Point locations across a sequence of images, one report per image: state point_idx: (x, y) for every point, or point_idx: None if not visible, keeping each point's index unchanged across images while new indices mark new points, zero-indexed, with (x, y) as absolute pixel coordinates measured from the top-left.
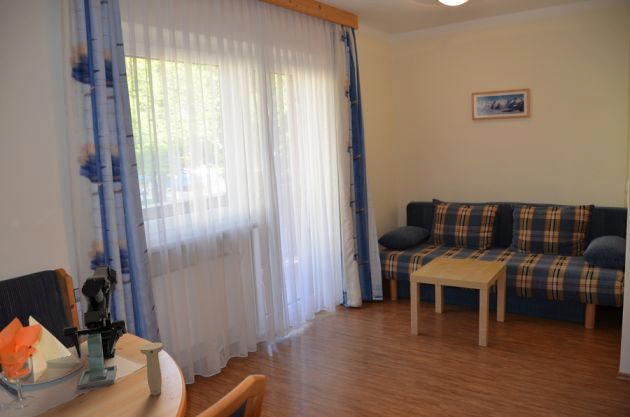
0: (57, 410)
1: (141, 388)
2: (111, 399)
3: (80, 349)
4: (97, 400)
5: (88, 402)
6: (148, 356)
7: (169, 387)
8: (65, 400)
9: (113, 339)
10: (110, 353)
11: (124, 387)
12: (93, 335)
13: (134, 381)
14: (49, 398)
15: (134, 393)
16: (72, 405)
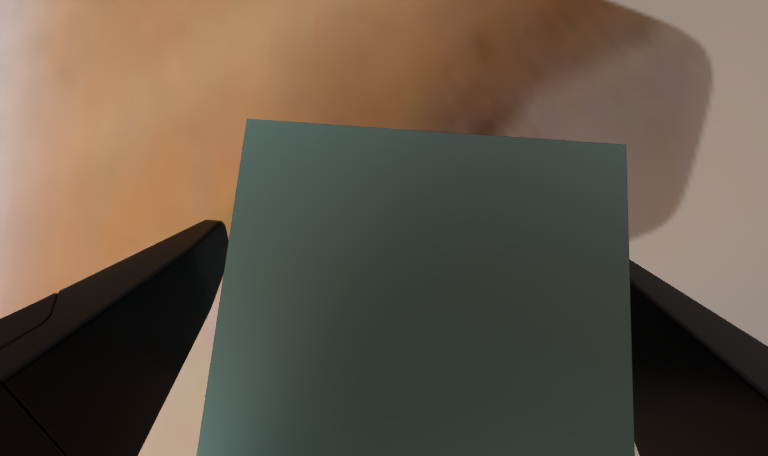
0: (595, 4)
1: (151, 59)
2: (318, 4)
3: (645, 428)
4: (392, 24)
5: (439, 22)
6: None
7: (7, 6)
8: (572, 97)
9: (22, 325)
10: (224, 235)
11: (242, 112)
12: (444, 432)
13: (177, 165)
14: (676, 163)
15: (195, 18)
16: (522, 25)
